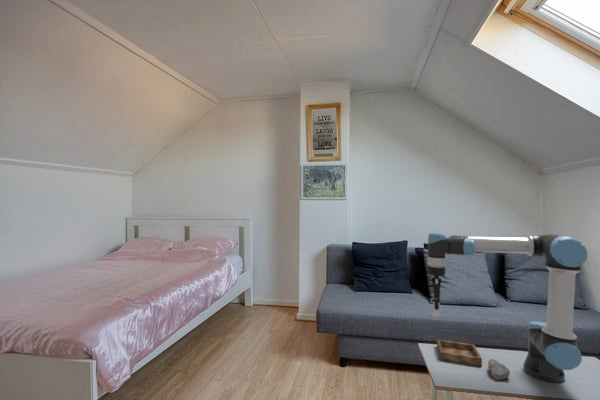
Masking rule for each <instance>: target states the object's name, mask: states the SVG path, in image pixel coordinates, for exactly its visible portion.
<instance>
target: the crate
mask: <svg viewBox="0 0 600 400" xmlns="http://www.w3.org/2000/svg"><path fill="white" fill-rule="evenodd" d="M436 348H437V349H436V350H437V352H438V353H437V354H438V356H439V359H440V361H441V362H447V363H452V364H453V363H454V364H459V365H460V364H461V365H466V366H467V365H468V366H473V367H479V368H482V367H483V366H482V362H483V360H482V359H483V358H482V355H480V353H479V351H478V349H477V347H476V344H472V343H466V342H458V341H451V340H442V339H436Z"/></svg>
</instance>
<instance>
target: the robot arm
mask: <svg viewBox="0 0 600 400" xmlns="http://www.w3.org/2000/svg"><path fill="white" fill-rule="evenodd" d="M427 238H428V239H427V240H428V241H427V258H426V261H427V265H428V266H427V274H428V275H430V276H433V277H431V284H432V299H431V302H432V307H433V308H432V316H433V317H441V314H440V313H441V312H440V311H441V310H440V309H441V300H440V299H441V298H440V294H441V291H440V290H441V287H442V286H441V284H442V278H440V277H443V276H445V275H446V255H457V256H458V255H459V256H473V255H474V254H475V253H476V252H477V253H497V254H498V253H501V254H523V255H527V256H529V257H538V258H543V259H544V261H545V262H544V266H545V268H546V269H547V270H548V285H547V287H548V289H547V304H546V305H547V306H546V321H545V322H543V321H530V322H529V323H528V327H527V336H528V337H527V345H528V346H527V351H528V352H527V354H526V357H525V359H524V362H523V371H524V372H525V373H526V374H528V375H530V376H531V377H534V378H536V379H539V380H541V381H544V382H548V383H564V382H565V380H566V375H565V372H564V371H571V370H574V369H575V368H578V367H579V366H580V365H581V363H582V359H583V355H582V353H581V351H580V349H579V348H578V346H577V345H578V336H577V335H576V334H575V333H574V332H573V331H574V330H573V329H574V312H575V311H574V309H575V291H576V276H577V275H576V274H578V273H581V270H582V265H583V264H584V263H585V262H586V261H587V259H588V250H587V248H586V246H585V244H583V243H582V242H581V241H580V240H578V239H576V238H574V237H572V236H565V235H559V234H541V235H540V234H538V235H531V234H530V235H527V236H526V237H522V236H521V237H517V236H515V237H513V236H512V237H509V236H475V235H469V236H468V235H466V236H465V235H464V236H463V235H451V236H449V237H447V236H446V234H445V233H443V232H441V233H440V232H431V233H429V234H428V237H427Z"/></svg>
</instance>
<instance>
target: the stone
mask: <svg viewBox="0 0 600 400" xmlns="http://www.w3.org/2000/svg"><path fill="white" fill-rule="evenodd" d="M487 363H488V367H487V369H488V371H490V373H491V376H492V378H493V379H494V380H497V381H498V380H505V379H507V378H509V377H510V373H511V371H510V369H509V368H508V367H506V365H505V364H503V363H500V362H499V361H498V360H497V359H493V358H490V359H488V362H487Z"/></svg>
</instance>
